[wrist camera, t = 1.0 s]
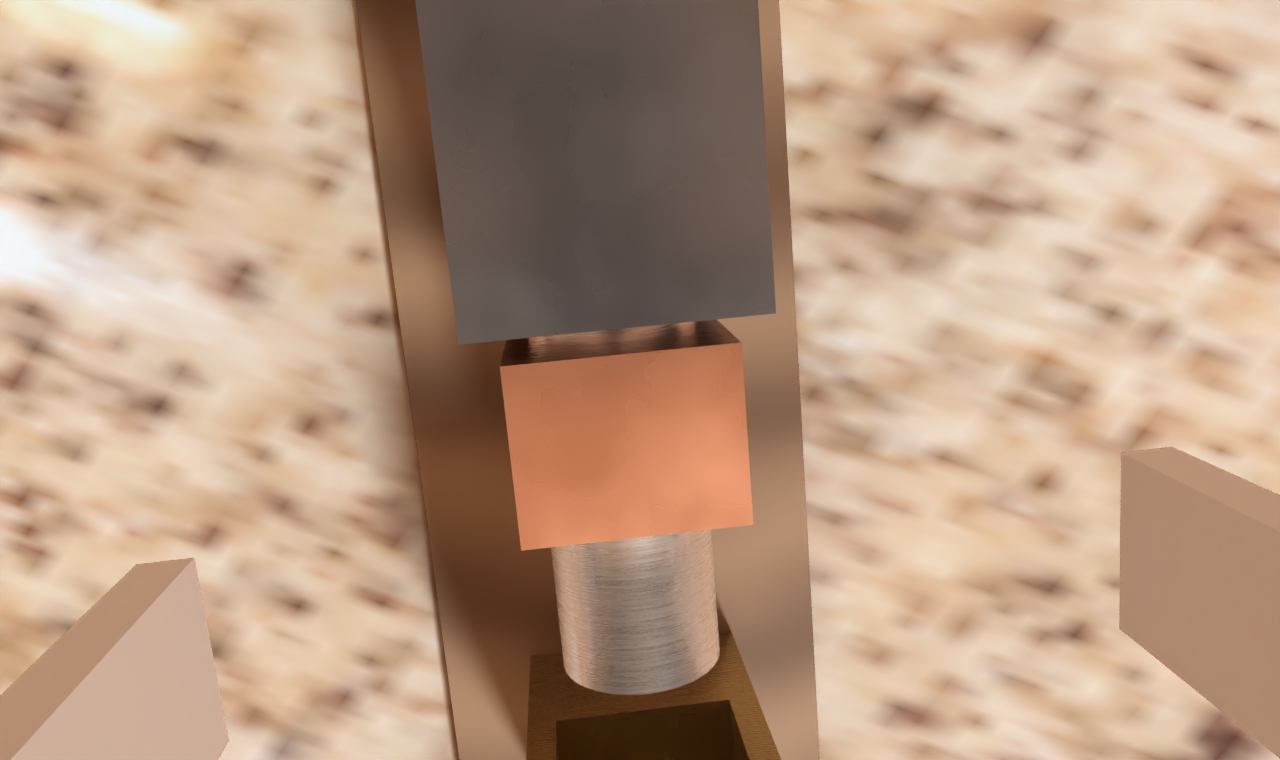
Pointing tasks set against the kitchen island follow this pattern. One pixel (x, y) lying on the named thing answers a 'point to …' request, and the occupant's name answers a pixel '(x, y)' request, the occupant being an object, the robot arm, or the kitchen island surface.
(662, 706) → the socket
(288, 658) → the kitchen island surface
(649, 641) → the rod
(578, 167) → the sleeve
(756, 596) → the board
